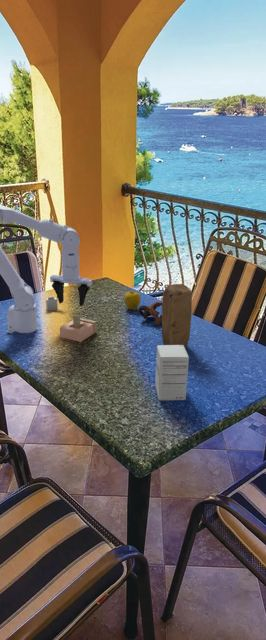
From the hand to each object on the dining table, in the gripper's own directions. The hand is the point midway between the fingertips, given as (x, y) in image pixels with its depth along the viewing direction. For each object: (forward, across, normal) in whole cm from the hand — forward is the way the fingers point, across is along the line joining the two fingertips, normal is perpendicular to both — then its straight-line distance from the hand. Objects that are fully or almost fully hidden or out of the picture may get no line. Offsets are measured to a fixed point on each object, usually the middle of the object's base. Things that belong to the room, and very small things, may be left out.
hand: (71, 303), depth 157 cm
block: (+10, +36, 0) cm, 38 cm away
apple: (+10, +14, +27) cm, 32 cm away
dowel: (+8, +5, -7) cm, 12 cm away
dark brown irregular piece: (+10, +25, +18) cm, 32 cm away
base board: (+9, +5, -9) cm, 14 cm away
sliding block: (+8, +5, -7) cm, 12 cm away
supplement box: (+10, +42, -32) cm, 54 cm away
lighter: (+10, -14, +17) cm, 24 cm away
